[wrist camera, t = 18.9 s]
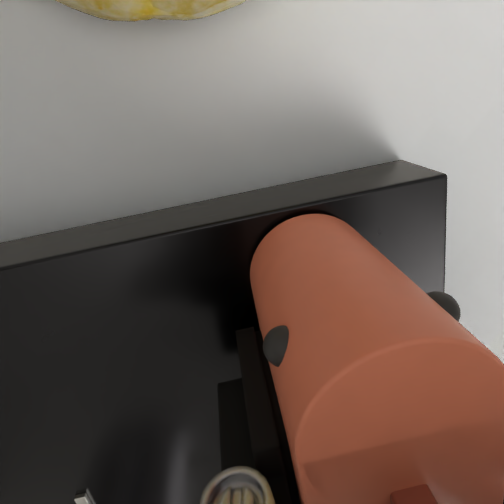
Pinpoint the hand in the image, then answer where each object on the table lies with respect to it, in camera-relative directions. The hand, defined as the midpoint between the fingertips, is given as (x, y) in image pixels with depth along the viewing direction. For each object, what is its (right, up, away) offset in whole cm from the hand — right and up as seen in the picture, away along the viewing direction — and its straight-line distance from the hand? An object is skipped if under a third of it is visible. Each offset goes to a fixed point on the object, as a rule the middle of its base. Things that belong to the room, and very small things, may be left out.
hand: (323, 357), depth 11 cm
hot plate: (-4, -3, +4) cm, 6 cm away
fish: (0, 0, 0) cm, 0 cm away
